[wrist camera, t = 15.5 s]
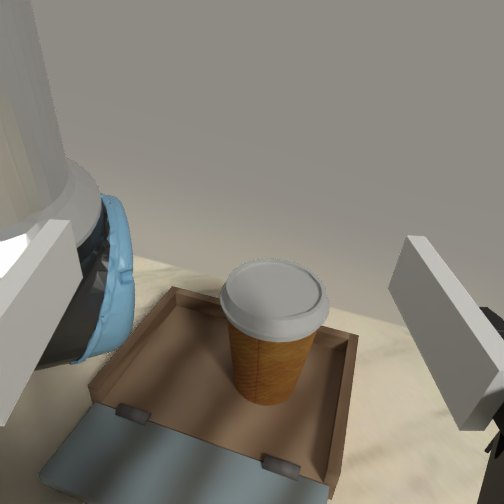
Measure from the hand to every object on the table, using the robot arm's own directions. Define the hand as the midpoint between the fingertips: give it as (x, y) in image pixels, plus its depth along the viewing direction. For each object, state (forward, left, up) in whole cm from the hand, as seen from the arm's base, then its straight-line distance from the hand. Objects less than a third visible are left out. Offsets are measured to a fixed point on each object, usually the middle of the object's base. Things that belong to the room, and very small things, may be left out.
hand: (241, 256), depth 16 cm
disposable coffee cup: (-1, +14, -24) cm, 27 cm away
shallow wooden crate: (-4, +10, -26) cm, 28 cm away
